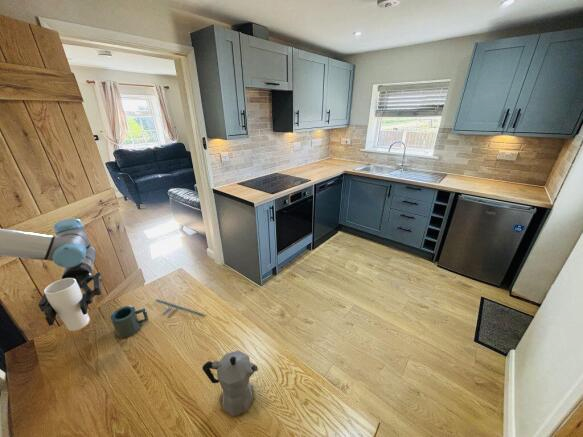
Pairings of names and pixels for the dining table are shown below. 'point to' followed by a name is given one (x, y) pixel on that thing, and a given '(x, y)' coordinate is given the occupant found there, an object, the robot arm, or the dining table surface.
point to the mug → (127, 321)
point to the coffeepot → (233, 380)
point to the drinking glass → (67, 303)
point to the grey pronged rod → (177, 306)
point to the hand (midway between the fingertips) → (66, 315)
